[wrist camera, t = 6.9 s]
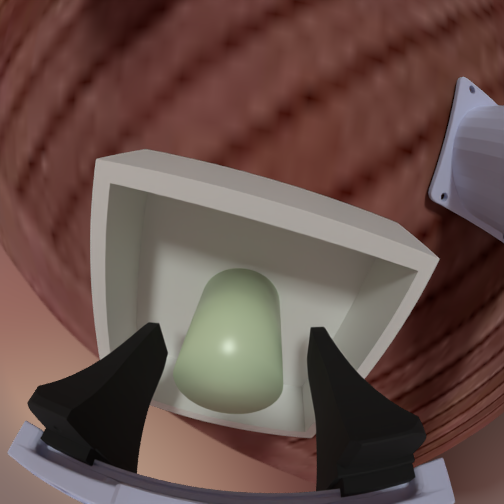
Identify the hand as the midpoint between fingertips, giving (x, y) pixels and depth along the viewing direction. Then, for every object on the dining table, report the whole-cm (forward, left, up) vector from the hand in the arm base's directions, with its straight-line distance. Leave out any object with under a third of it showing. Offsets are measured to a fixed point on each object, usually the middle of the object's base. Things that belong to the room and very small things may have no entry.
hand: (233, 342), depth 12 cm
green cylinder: (0, 0, -3) cm, 3 cm away
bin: (0, 0, -4) cm, 4 cm away
